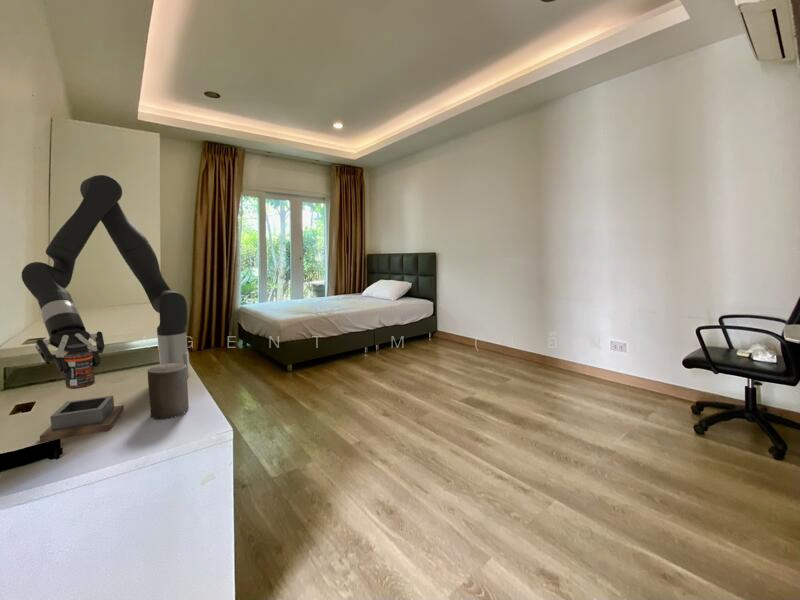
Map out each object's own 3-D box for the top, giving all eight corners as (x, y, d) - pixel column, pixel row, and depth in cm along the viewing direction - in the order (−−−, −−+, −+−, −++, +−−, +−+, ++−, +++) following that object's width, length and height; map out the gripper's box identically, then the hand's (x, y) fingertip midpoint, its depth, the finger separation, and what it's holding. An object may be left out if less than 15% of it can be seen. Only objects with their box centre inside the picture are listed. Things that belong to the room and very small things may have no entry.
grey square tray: (114, 408, 105) (113, 395, 104) (103, 423, 96) (101, 408, 95) (68, 415, 100) (67, 401, 100) (52, 431, 91) (50, 416, 91)
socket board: (124, 409, 107) (123, 405, 107) (110, 429, 95) (109, 424, 95) (63, 418, 101) (63, 413, 101) (40, 441, 89) (39, 436, 89)
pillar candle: (148, 422, 99) (144, 370, 98) (153, 409, 108) (149, 361, 106) (188, 415, 104) (185, 365, 102) (190, 403, 112) (187, 357, 111)
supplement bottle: (78, 390, 93) (73, 348, 92) (60, 388, 95) (55, 347, 93) (101, 382, 99) (97, 343, 98) (84, 381, 100) (79, 342, 99)
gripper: (28, 314, 93) (46, 367, 88) (97, 308, 105) (117, 354, 100) (25, 332, 96) (42, 383, 91) (92, 324, 108) (111, 369, 103)
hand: (81, 368), depth 95 cm, fingers closed on supplement bottle, 6 cm apart
